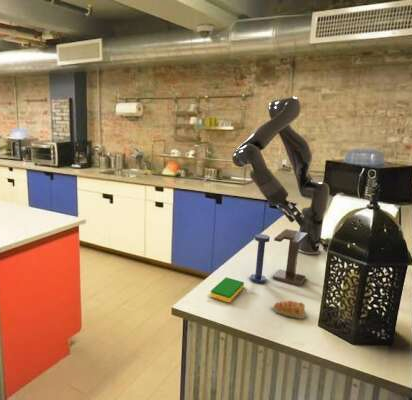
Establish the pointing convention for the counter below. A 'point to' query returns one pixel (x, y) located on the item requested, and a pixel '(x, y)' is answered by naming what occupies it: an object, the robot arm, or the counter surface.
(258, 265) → the peg
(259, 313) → the counter surface
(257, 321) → the counter surface
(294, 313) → the pastry
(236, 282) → the dish sponge
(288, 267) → the stand
